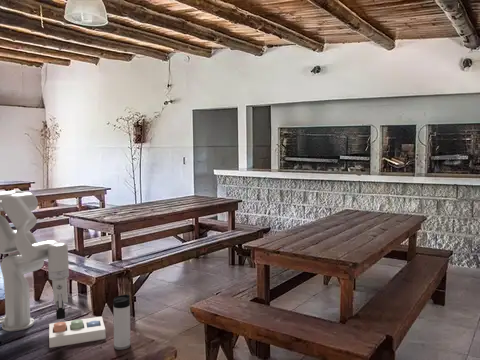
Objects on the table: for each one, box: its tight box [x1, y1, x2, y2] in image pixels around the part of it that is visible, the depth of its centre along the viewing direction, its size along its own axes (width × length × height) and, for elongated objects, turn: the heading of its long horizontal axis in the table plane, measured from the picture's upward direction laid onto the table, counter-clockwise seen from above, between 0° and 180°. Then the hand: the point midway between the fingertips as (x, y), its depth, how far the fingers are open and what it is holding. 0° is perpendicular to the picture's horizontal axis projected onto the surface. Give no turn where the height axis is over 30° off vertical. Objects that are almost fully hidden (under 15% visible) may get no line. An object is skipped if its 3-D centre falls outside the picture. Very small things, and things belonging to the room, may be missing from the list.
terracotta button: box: [54, 321, 66, 333], centre depth 178 cm, size 5×5×4 cm
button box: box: [48, 316, 107, 349], centre depth 181 cm, size 21×14×4 cm, turn 113°
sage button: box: [71, 319, 83, 330], centre depth 181 cm, size 5×5×4 cm
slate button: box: [88, 321, 99, 327], centre depth 184 cm, size 5×5×4 cm
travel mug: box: [112, 294, 131, 351], centre depth 172 cm, size 6×7×20 cm
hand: (60, 318), depth 178 cm, fingers closed
